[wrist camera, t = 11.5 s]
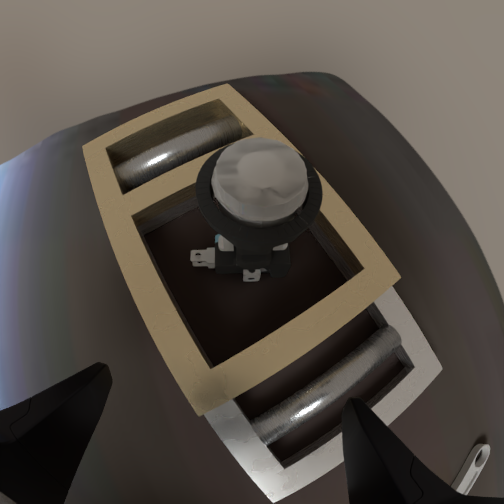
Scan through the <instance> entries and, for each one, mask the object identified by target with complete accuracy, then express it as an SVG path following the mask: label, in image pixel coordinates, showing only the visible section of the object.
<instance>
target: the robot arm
mask: <svg viewBox="0 0 504 504" xmlns="http://www.w3.org/2000/svg"><path fill="white" fill-rule="evenodd" d="M111 386H112V376H111V373H110V370H109V367H108V365H107V364H104V363H101V362H97V363H95V364H93V365H91V366H89V367H87V368H86V369H84V370H82V371H80V372H78V373H76V374H74V375H72V376H71V377H69V378H67V379H65V380H63V381H61V382H59V383H57V384H55V385H54V386H52V387H50V388H48V389H46V390H44V391H42V392H40V393H38V394H36V395H34V396H32V398H31V397H30V398H28V399H26V400H24V401H22V402H20V403H18V404H16V405H14V406H11V407H9V408H6V409H3V410H1V411H0V504H64V502H65V499H66V497H67V494H68V490H69V488H70V486H71V483H72V481H73V478H74V476H75V473H76V471H77V469H78V466H79V464H80V461H81V459H82V457H83V454H84V452H85V450H86V448H87V445H88V443H89V441H90V439H91V436H92V434H93V432H94V430H95V428H96V425H97V423H98V421H99V419H100V417H101V414H102V412H103V409H104V406H105V403H106V400H107V397H108V394H109V391H110V389H111ZM342 446H343V456H344V463H345V471H346V478H347V486H348V494H349V503H350V504H504V498H497V497H479V496H468V495H464V494H461V493H459V492H457V491H456V490H455V489H453V488H452V487H451V486H449V485H448V484H447V483H445V482H444V481H443V480H442V479H440V478H439V477H438V476H437V475H435V474H434V473H433V472H432V471H431V470H429V469H428V468H427V467H426V466H425V465H424V464H423V463H422V462H421V461H420V460H419V459H418V458H417V457H416V456H414V454H413V453H412V452H411V451H410V450H409V449H408V448H407V446H406V445H405V444H404V443H403V442H402V441H401V440H400V439H399V438H398V437H397V436H396V435H395V434H394V433H393V432H392V431H391V430H390V429H389V427H388V426H387V425H386V424H385V423H384V422H383V421H382V420H381V419H380V418H379V417H378V416H377V415H376V414H375V413H374V411H373V410H372V409H371V408H370V407H369V406H368V405H367V404H366V403H365V402H364V401H363V400H362V399H361V398H360V397H350V398H349V399H348V400H347V402H346V404H345V406H344V408H343V411H342Z"/></svg>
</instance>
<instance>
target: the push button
mask: <svg viewBox="0 0 504 504" xmlns="http://www.w3.org/2000/svg"><path fill="white" fill-rule="evenodd" d="M195 192H196V198H197V203H198V206H199V209H200V211H201V213H202V215H203V217H204V218H205V220H206V221H207V222H208V223H209V225H210V227H211V228H213V229H214V230H215V231H216V232H218V233H219V234H217V235H216V236H215V248H207V250H192V251H191V258H190V260H191V261H192V262H193V266H208V268H215V270H216V273H217V274H228V273H243V281H259V279H260V275H261V273H270V274H271V277H285V276H286V274H287V272H288V270H289V268H290V266H291V260H290V250H289V242H292V241H294V240H295V239H296V238H297V237H298V236H299V235H300V234H302V233H303V232H304V231H305V230H307V229H308V228H309V226H310V225H311V224H312V223H313V221H314V220H315V218H316V216H317V214H318V212H319V210H320V207H321V204H322V197H323V191H322V184H321V181H320V178H319V176H318V174H317V172H316V170H315V168H314V167H313V166H312V164H311V163H310V162H309V161H308V160H307V159H306V158H305V157H304V156H302V155H301V154H300V153H298V152H297V151H295V150H294V149H292V148H291V147H289V146H287V145H285V144H284V143H282V142H280V141H278V140H272V139H267V138H261V137H257V138H250V139H244V140H240V141H237V142H236V143H232V144H230V145H227V146H225V147H223V148H221V149H219V150H218V151H216V152H215V153H214V154H212V155H211V156H210V157H209V158H208V159H207V160H206V161H205V163H204V164H203V165H202V167H201V169H200V171H199V173H198V176H197V179H196V186H195ZM214 194H215V197H216V198H217V200H218V203H219V210H218V208H217V207H216V206H215V204H214V202H213V196H214ZM301 205H302V212H301V213H300V214H299V215H298V216H297V217H296V218H294V216H295V213H296V210H297V208H298V207H299V206H301ZM197 253H200V254H201V255H196V254H197ZM201 261H203V262H202V263H198V262H201ZM248 278H254V279H248Z"/></svg>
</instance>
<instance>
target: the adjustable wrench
mask: <svg viewBox="0 0 504 504" xmlns="http://www.w3.org/2000/svg"><path fill="white" fill-rule="evenodd" d="M480 450H481V455H480V457H479V459H478V460H477V462H476V463H475V460H476V457H477V455H478V453H479V452H480ZM489 453H490V446H489V445H487V444H477V445H476V446H475V447H474V448H473V449H472V450H471V452H470V454H469V456H468V458H467V459H466V461H465V463H464V465H463V467H462V469H461V470H460V472H459V474H458V475H457V477H456V479H455V480H454V482H453V484H452V485H451V487H452V488H453V489H455V490H456V491H457V492H459V493H461V494H464V495H467V494H468V492H469V490H470V489H471V487H472V486H473V484H474V482H475V481H476V479H477V477H478V475H479V474H480V472H481V470H482V468H483V466H484V465H485V463H486V461H487V459H488V456H489Z"/></svg>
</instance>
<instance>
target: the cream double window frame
mask: <svg viewBox="0 0 504 504" xmlns="http://www.w3.org/2000/svg"><path fill="white" fill-rule="evenodd" d="M257 137H261V138H267V139H272V140H278V141H280V142H282V143H284V144H285V145H287V146H289V147H291V148H292V149H294V150H295V151H297V152H298V153H300V152H299V151H298V150H297V149H296V148H295V147H294V146H293V145H292V144H291V143H290V142H289V140H288V139H287V138H286V137H285V136H284V135H283V134H282V133H281V132H280V131H279V130H278V129H277V128H276V127H275V126H273V125H272V124H271V123H270V122H269V121H268V120H267V119H266V118H265V117H264V116H263V115H262V114H261V113H260V112H259V111H258V110H257V109H256V108H255V107H254V106H252V105H251V104H250V103H249V102H248V101H247V100H246V99H245V98H244V97H243V96H241V95H240V94H239V93H238V92H237V91H236V90H235V89H233V88H232V87H231V86H230V85H229V84H224V85H221V86H218V87H215V88H211V89H208V90H205V91H202V92H199V93H197V94H194V95H191V96H188V97H186V98H183V99H180V100H178V101H175V102H172V103H170V104H167V105H165V106H163V107H160V108H158V109H155V110H153V111H151V112H148V113H146V114H144V115H142V116H140V117H137V118H135V119H133V120H131V121H129V122H127V123H125V124H123V125H121V126H119V127H117V128H115V129H113V130H111V131H109V132H107V133H105V134H103V135H102V136H100V137H98V138H96V139H94V140H93V141H91V142H89V143H87V144H86V145H84V146H82V148H83V153H84V157H85V161H86V165H87V169H88V173H89V176H90V180H91V184H92V187H93V191H94V194H95V197H96V201H97V204H98V207H99V210H100V213H101V216H102V219H103V222H104V225H105V228H106V231H107V234H108V237H109V240H110V242H111V245H112V248H113V250H114V253H115V256H116V258H117V261H118V263H119V266H120V268H121V271H122V273H123V276H124V278H125V280H126V283H127V285H128V287H129V290H130V292H131V294H132V296H133V299H134V301H135V303H136V305H137V307H138V310H139V312H140V314H141V316H142V318H143V320H144V322H145V324H146V326H147V328H148V330H149V332H150V334H151V336H152V338H153V340H154V342H155V344H156V346H157V348H158V349H159V351H160V353H161V355H162V357H163V359H164V360H165V362H166V364H167V366H168V368H169V369H170V371H171V373H172V375H173V376H174V378H175V380H176V381H177V383H178V385H179V386H180V388H181V390H182V391H183V393H184V395H185V396H186V398H187V399H188V401H189V403H190V404H191V406H192V407H193V409H194V410H195V412H196V413H197V415H198V416H201V415H203V414H204V416H205V417H206V419H207V420H208V422H209V423H210V424H211V426H212V427H213V429H214V430H215V432H216V433H217V434H218V436H219V437H220V439H221V440H222V441H223V443H224V444H225V445H226V447H227V448H228V449H229V451H230V452H231V453H232V455H233V456H234V457H235V459H236V460H237V461H238V462H239V464H240V465H241V466H242V467H243V469H244V470H245V471H246V472H247V474H248V475H249V476H250V477H251V478H252V480H253V481H254V482H255V483H256V484H257V485H258V487H259V488H260V489H261V490H262V491H263V492H264V493H265V495H266V496H267V497H268V498H269V499H270V500H271V501H272V502H273V503H275V502H277V501H279V500H281V499H282V498H284V497H286V496H288V495H290V494H292V493H294V492H295V491H297V490H299V489H301V488H303V487H304V486H306V485H308V484H309V483H311V482H313V481H314V480H316V479H317V478H319V477H321V476H322V475H324V474H325V473H327V472H328V471H330V470H331V469H333V468H334V467H336V466H337V465H339V464H340V463H341V462H343V461H344V456H343V446H342V422H341V423H340V424H338V425H337V426H336V427H334V428H333V429H331V430H330V431H329V432H327V433H326V434H324V435H323V436H322V437H320V438H319V439H317V440H316V441H314V442H313V443H311V444H310V445H308V446H306V447H305V448H303V449H302V450H300V451H299V452H297V453H295V454H294V455H292V456H290V457H289V458H287V459H285V460H283V461H282V462H281V461H280V460H279V459H278V458H277V456H276V455H275V454H274V453H273V451H272V450H271V449H270V447H269V446H268V445H269V444H271V443H273V442H275V441H276V440H278V439H280V438H281V437H283V436H285V435H286V434H288V433H290V432H291V431H293V430H294V429H296V428H297V427H299V426H301V425H302V424H304V423H305V422H307V421H308V420H310V419H311V418H313V417H314V416H315V415H317V414H318V413H320V412H321V411H323V410H324V409H325V408H327V407H328V406H330V405H331V404H332V403H334V402H335V401H336V400H338V399H339V398H340V397H342V396H343V395H344V394H345V393H347V392H348V391H349V390H351V389H352V388H353V387H354V386H356V385H357V384H358V383H359V382H360V381H362V380H363V379H364V378H365V377H366V376H368V375H369V374H370V373H371V372H372V371H373V370H375V369H376V368H377V367H378V366H379V365H380V364H381V363H382V362H384V361H385V360H386V359H387V358H388V357H389V356H390V355H391V354H392V353H393V352H395V354H396V355H397V357H398V359H399V360H400V362H401V363H402V365H403V367H404V369H403V370H402V371H401V372H400V373H399V374H397V375H396V376H395V377H394V378H393V379H392V380H391V381H390V382H389V383H388V384H387V385H386V386H385V387H384V388H382V389H381V390H380V391H379V392H378V393H377V394H376V395H375V396H373V397H372V398H371V399H370V400H369V401H367V402H366V404H367V405H368V406H369V407H370V408H371V409H372V410H373V411H374V413H375V414H376V415H377V416H378V417H379V418H380V419H381V420H382V421H383V422H384V423H385V424H386V425H387V426H388V425H389V424H390V423H391V422H392V421H393V420H395V419H396V418H397V417H398V416H399V415H400V414H401V413H402V412H403V411H404V410H405V409H406V408H407V407H408V406H409V405H410V404H411V403H412V402H413V401H414V400H415V399H416V398H417V397H418V396H419V395H420V394H421V393H422V392H423V391H424V389H425V388H426V387H427V386H428V385H429V384H430V383H431V382H432V381H433V379H434V378H435V377H436V376H437V375H438V374H439V372H440V371H441V370H442V369H443V368H442V366H441V365H440V363H439V361H438V359H437V357H436V356H435V354H434V352H433V350H432V349H431V347H430V345H429V343H428V342H427V340H426V338H425V337H424V335H423V333H422V332H421V330H420V328H419V327H418V325H417V323H416V322H415V320H414V319H413V317H412V315H411V314H410V312H409V311H408V309H407V308H406V306H405V305H404V303H403V302H402V300H401V298H400V297H399V295H398V294H397V292H396V291H395V290H394V288H393V287H392V285H393V284H395V283H396V282H397V281H398V280H399V279H400V278H401V276H400V275H399V273H398V272H397V270H396V269H395V268H394V266H393V265H392V263H391V262H390V261H389V259H388V258H387V256H386V255H385V254H384V252H383V251H382V250H381V248H380V247H379V246H378V244H377V243H376V242H375V240H374V239H373V238H372V236H371V235H370V234H369V232H368V231H367V230H366V228H365V227H364V226H363V225H362V223H361V222H360V221H359V220H358V218H357V217H356V216H355V215H354V213H353V212H352V211H351V210H350V208H349V207H348V206H347V205H346V204H345V202H344V201H343V200H342V199H341V198H340V196H339V195H338V194H337V193H336V192H335V191H334V189H333V188H332V187H331V186H330V185H329V184H328V183H327V181H326V180H325V179H324V178H323V177H322V176H321V175H320V174H319V172H318V171H317V170H316V169H315V170H316V172H317V174H318V176H319V178H320V181H321V184H322V191H323V197H322V204H321V207H320V210H319V212H318V214H317V216H316V218H315V220H314V221H313V223H312V224H311V225H310V226H309V228H308V229H309V230H310V231H311V233H312V234H313V235H314V237H315V238H316V239H317V241H318V242H319V243H320V245H321V246H322V247H323V249H324V250H325V251H326V253H327V254H328V255H329V257H330V258H331V259H332V261H333V262H334V264H335V265H336V266H337V268H338V269H339V271H340V272H341V273H342V275H343V276H344V278H345V279H346V280H347V282H346V283H345V284H343V285H342V286H341V287H339V288H338V289H336V290H335V291H334V292H332V293H331V294H329V295H328V296H327V297H325V298H324V299H322V300H321V301H319V302H318V303H317V304H315V305H314V306H312V307H311V308H309V309H308V310H306V311H305V312H303V313H302V314H300V315H299V316H297V317H296V318H294V319H293V320H291V321H290V322H288V323H287V324H285V325H284V326H282V327H280V328H279V329H277V330H276V331H274V332H273V333H271V334H269V335H268V336H266V337H265V338H263V339H261V340H260V341H258V342H257V343H255V344H253V345H252V346H250V347H248V348H247V349H245V350H243V351H242V352H240V353H238V354H237V355H235V356H233V357H231V358H230V359H228V360H226V361H225V362H223V363H221V364H219V365H217V366H216V367H214V366H213V364H212V363H211V361H210V359H209V358H208V356H207V354H206V353H205V351H204V349H203V348H202V346H201V344H200V343H199V341H198V339H197V337H196V336H195V334H194V332H193V331H192V329H191V327H190V325H189V323H188V322H187V320H186V318H185V316H184V315H183V313H182V311H181V309H180V307H179V305H178V304H177V302H176V300H175V298H174V296H173V294H172V292H171V290H170V288H169V286H168V284H167V283H166V281H165V279H164V277H163V275H162V273H161V271H160V269H159V267H158V265H157V263H156V260H155V258H154V256H153V254H152V252H151V250H150V248H149V246H148V244H147V242H146V239H145V237H144V235H146V234H147V233H149V232H151V231H153V230H155V229H156V228H158V227H160V226H162V225H164V224H166V223H168V222H169V221H171V220H173V219H175V218H177V217H179V216H181V215H183V214H185V213H187V212H188V211H190V210H192V209H194V208H196V207H198V203H197V198H196V192H195V186H196V179H197V176H198V173H199V171H200V169H201V167H202V165H203V164H204V163H205V161H206V160H207V159H208V158H209V157H210V156H211V155H212V154H214V153H215V152H216V151H218V150H219V149H221V148H220V147H222V146H224V147H225V145H226V146H227V144H229V145H230V143H231V144H232V142H234V143H236V142H237V141H240V140H244V139H250V138H257ZM235 141H236V142H235ZM217 148H219V149H217ZM222 148H223V147H222ZM215 149H217V150H215ZM213 150H214V151H213ZM210 151H212V152H210ZM208 152H210V153H208ZM206 153H207V154H206ZM204 154H205V155H204ZM300 154H301V153H300ZM201 155H203V156H201ZM301 155H302V154H301ZM199 156H201V157H199ZM302 156H303V155H302ZM197 157H198V158H197ZM195 158H196V159H195ZM192 159H194V160H192ZM190 160H192V161H190ZM188 161H190V162H188ZM186 162H187V163H186ZM184 163H185V164H184ZM182 164H183V165H182ZM179 165H181V166H179ZM177 166H179V167H177ZM175 167H177V168H175ZM173 168H175V169H173ZM171 169H173V170H171ZM169 170H171V171H169ZM167 171H169V172H167ZM165 172H166V173H165ZM163 173H164V174H163ZM161 174H162V175H161ZM159 175H160V176H159ZM157 176H158V177H157ZM155 177H156V178H155ZM153 178H154V179H153ZM151 179H153V180H151ZM149 180H151V181H149ZM147 181H149V182H147ZM145 182H147V183H145ZM143 183H145V184H143ZM141 184H143V185H141ZM140 185H141V186H140ZM138 186H139V187H138ZM136 187H137V188H136ZM134 188H135V189H134ZM132 189H134V190H132ZM130 190H132V191H130ZM128 191H130V192H128ZM127 192H128V193H127ZM214 198H216V197H215V194H214V196H213V199H214ZM301 212H302V205H301V206H299V207H298V208H297V210H296V213H297V214H298V215H299V214H300V213H301ZM365 308H366V309H367V311H368V312H369V314H370V315H371V317H372V318H373V320H374V321H375V323H376V324H377V326H378V327H379V329H378V330H377V331H376V332H375V333H374V334H373V335H371V336H370V337H369V338H368V339H367V340H366V341H364V342H363V343H362V344H361V345H359V346H358V347H357V348H356V349H355V350H353V351H352V352H351V353H350V354H348V355H347V356H346V357H344V358H343V359H342V360H341V361H339V362H338V363H337V364H335V365H334V366H333V367H331V368H330V369H329V370H327V371H326V372H325V373H323V374H322V375H321V376H319V377H318V378H316V379H315V380H313V381H312V382H311V383H309V384H308V385H306V386H305V387H303V388H302V389H300V390H299V391H297V392H296V393H294V394H293V395H291V396H290V397H288V398H287V399H285V400H284V401H282V402H280V403H279V404H277V405H276V406H274V407H272V408H271V409H269V410H267V411H266V412H264V413H262V414H261V415H259V416H257V417H256V418H254V419H252V420H249V419H248V417H247V416H246V414H245V413H244V412H243V410H242V409H241V407H240V406H239V404H238V403H237V401H236V400H235V397H237V396H238V395H240V394H242V393H244V392H245V391H247V390H249V389H250V388H252V387H254V386H255V385H257V384H259V383H260V382H262V381H264V380H265V379H267V378H268V377H270V376H272V375H273V374H275V373H276V372H278V371H280V370H281V369H283V368H284V367H286V366H287V365H289V364H290V363H292V362H293V361H295V360H296V359H298V358H299V357H301V356H302V355H304V354H305V353H307V352H308V351H309V350H311V349H312V348H314V347H315V346H317V345H318V344H319V343H321V342H322V341H324V340H325V339H326V338H328V337H329V336H330V335H332V334H333V333H334V332H336V331H337V330H338V329H340V328H341V327H342V326H344V325H345V324H346V323H348V322H349V321H350V320H351V319H353V318H354V317H355V316H356V315H358V314H359V313H360V312H361V311H363V310H364V309H365Z"/></svg>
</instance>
